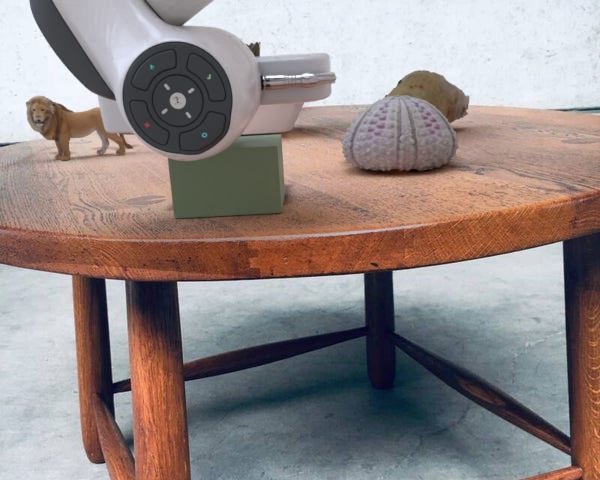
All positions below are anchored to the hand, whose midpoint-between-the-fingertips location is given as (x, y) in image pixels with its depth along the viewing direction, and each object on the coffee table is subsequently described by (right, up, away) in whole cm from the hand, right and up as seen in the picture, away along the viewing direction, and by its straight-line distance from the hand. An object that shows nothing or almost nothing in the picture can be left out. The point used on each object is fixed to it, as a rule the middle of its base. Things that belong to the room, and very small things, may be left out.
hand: (222, 78), depth 84 cm
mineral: (+23, +8, +46) cm, 53 cm away
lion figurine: (-25, +5, +47) cm, 53 cm away
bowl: (+1, +13, +62) cm, 63 cm away
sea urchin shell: (+19, -3, +21) cm, 28 cm away
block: (+1, -11, +4) cm, 12 cm away
